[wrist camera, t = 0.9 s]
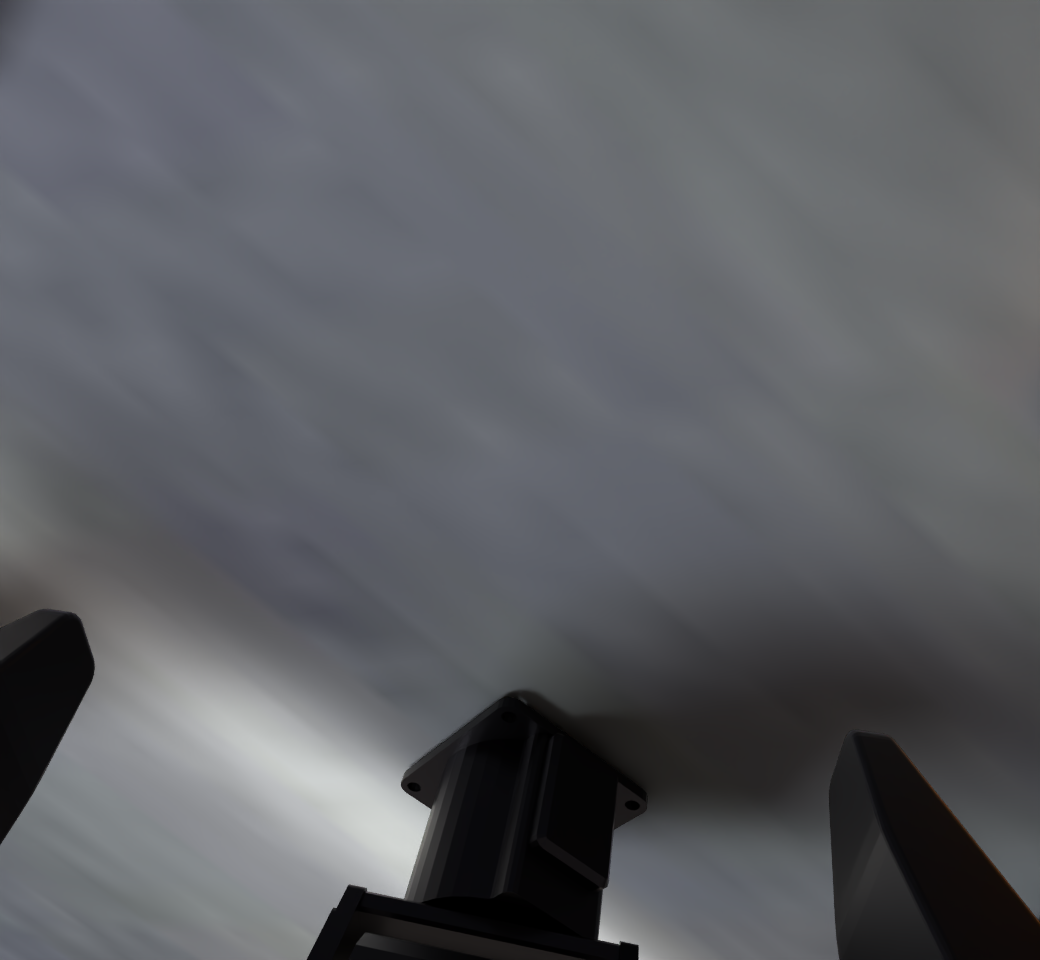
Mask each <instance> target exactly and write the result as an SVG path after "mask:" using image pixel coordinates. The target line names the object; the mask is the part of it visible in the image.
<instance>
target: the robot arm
mask: <svg viewBox="0 0 1040 960" xmlns="http://www.w3.org/2000/svg"><path fill="white" fill-rule="evenodd" d="M94 670H95V663H94V658H93V655H92V652H91V649H90V646H89V643H88V639H87V636H86V633H85V630H84V627H83V624H82V621H81V619H80V618H79V617H78V616H77V615H76V614H74V613H72V612H65V611H59V610H52V609H42V610H38V611H36V612H34V613H31V614H29V615H27V616H25V617H23V618H21V619H19V620H17V621H15V622H13V623H11V624H9V625H6V626H4V627H2V628H0V845H1V843H2V841H3V840H4V838H5V837H6V835H7V834H8V832H9V831H10V829H11V828H12V826H13V825H14V823H15V821H16V820H17V818H18V817H19V815H20V814H21V812H22V811H23V809H24V807H25V806H26V804H27V802H28V801H29V799H30V798H31V796H32V794H33V792H34V791H35V789H36V787H37V785H38V784H39V782H40V780H41V778H42V776H43V775H44V773H45V771H46V769H47V767H48V765H49V763H50V761H51V759H52V757H53V755H54V753H55V751H56V749H57V748H58V746H59V744H60V742H61V740H62V738H63V736H64V734H65V732H66V730H67V728H68V726H69V724H70V723H71V721H72V719H73V717H74V715H75V713H76V711H77V709H78V707H79V705H80V703H81V701H82V699H83V698H84V696H85V694H86V692H87V690H88V688H89V686H90V684H91V682H92V679H93V676H94ZM508 712H512V713H514V714H512V713H508ZM401 787H402V789H403V790H404V791H405V792H406V793H408V794H409V795H411V796H412V797H414V798H415V799H417V800H418V801H420V802H421V803H423V804H424V805H426V806H427V807H429V808H430V809H432V810H431V813H430V816H429V819H428V823H427V826H426V829H425V832H424V836H423V839H422V842H421V845H420V849H419V852H418V855H417V858H416V862H415V865H414V868H413V872H412V875H411V878H410V881H409V885H408V888H407V891H406V894H405V898H404V899H401V898H396V897H391V896H386V895H382V894H377V893H372V892H367V888H364V887H360V886H355V885H350V884H349V885H348V887H347V889H346V891H345V893H344V895H343V897H342V899H341V901H340V903H339V905H338V906H337V908H333V909H332V911H331V913H330V915H329V917H328V919H327V921H326V923H325V925H324V927H323V929H322V930H321V932H320V934H319V936H318V938H317V940H316V942H315V944H314V946H313V948H312V950H311V952H310V954H309V956H308V958H307V960H638V951H639V947H638V945H636V944H631V943H626V942H621V941H620V943H619V944H614V943H609V942H605V941H600V940H598V935H599V925H600V915H601V905H602V895H603V889H604V888H606V887H607V886H608V883H609V874H610V863H611V852H612V842H613V831H614V829H616V828H618V827H619V826H621V825H623V824H625V823H626V822H628V821H630V820H632V819H633V818H635V817H637V816H639V815H640V814H642V813H644V812H645V811H646V809H647V801H648V796H647V793H646V792H645V791H644V790H643V789H642V788H640V787H639V786H638V785H636V784H635V783H633V782H632V781H631V780H629V779H628V778H626V777H625V776H624V775H622V774H621V773H620V772H618V771H617V770H615V769H614V768H613V767H611V766H610V765H609V764H607V763H606V762H604V761H603V760H602V759H600V758H599V757H597V756H596V755H595V754H593V753H592V752H591V751H589V750H588V749H586V748H585V747H584V746H582V745H581V744H579V743H578V742H577V741H575V740H574V739H573V738H571V737H570V736H568V735H567V734H566V733H564V732H563V731H561V730H560V729H559V728H557V727H556V726H555V725H553V724H552V723H550V722H549V721H548V720H546V719H545V718H544V717H542V716H541V715H539V714H538V713H537V712H535V711H534V710H532V709H531V708H530V707H528V706H527V705H526V704H524V703H523V702H521V701H520V700H518V699H516V698H511V697H507V698H503V699H500V700H499V701H497V702H496V703H495V704H494V705H492V706H491V707H490V708H488V709H487V710H486V711H484V712H483V713H482V714H480V715H479V716H478V717H476V718H475V719H474V720H472V721H471V722H470V723H469V724H467V725H466V726H465V727H463V728H462V729H461V730H459V731H458V732H457V733H455V734H454V735H453V736H451V737H450V738H449V739H447V740H446V741H445V742H443V743H442V744H441V745H440V746H438V747H437V748H436V749H434V750H433V751H432V752H430V753H429V754H428V755H426V756H425V757H424V758H422V759H421V760H420V761H418V762H417V763H416V764H415V765H413V766H412V767H411V768H409V769H408V770H407V771H406V772H405V773H404V776H403V779H402V781H401ZM829 809H830V829H831V849H832V869H833V889H834V908H835V925H836V939H837V947H838V954H839V960H1040V922H1039V920H1038V919H1037V918H1036V917H1035V915H1034V914H1033V913H1032V912H1031V910H1030V909H1029V908H1028V907H1027V905H1026V904H1025V903H1024V902H1023V900H1022V899H1021V898H1020V897H1019V895H1018V894H1017V893H1016V892H1015V890H1014V889H1013V888H1012V887H1011V885H1010V884H1009V883H1008V881H1007V880H1006V879H1005V878H1004V876H1003V875H1002V874H1001V873H1000V871H999V870H998V869H997V868H996V866H995V865H994V864H993V863H992V861H991V860H990V859H989V858H988V856H987V855H986V854H985V853H984V851H983V850H982V849H981V848H980V846H979V845H978V844H977V843H976V841H975V840H974V839H973V838H972V836H971V835H970V834H969V833H968V831H967V830H966V829H965V828H964V826H963V825H962V824H961V823H960V821H959V820H958V819H957V818H956V816H955V815H954V814H953V813H952V811H951V810H950V809H949V808H948V806H947V805H946V804H945V803H944V801H943V800H942V799H941V798H940V796H939V795H938V794H937V793H936V791H935V790H934V789H933V788H932V786H931V785H930V784H929V783H928V781H927V780H926V779H925V778H924V776H923V775H922V774H921V773H920V771H919V770H918V769H917V768H916V766H915V765H914V764H913V763H912V761H911V760H910V759H909V758H908V756H907V755H906V754H905V753H904V751H903V750H902V749H901V748H900V746H899V745H898V744H897V743H896V741H895V740H894V739H893V738H891V737H890V736H888V735H886V734H882V733H875V732H869V731H862V730H852V731H850V732H849V733H848V734H847V735H846V737H845V740H844V743H843V746H842V748H841V751H840V754H839V757H838V760H837V763H836V766H835V769H834V772H833V775H832V778H831V783H830V790H829Z"/></svg>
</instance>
